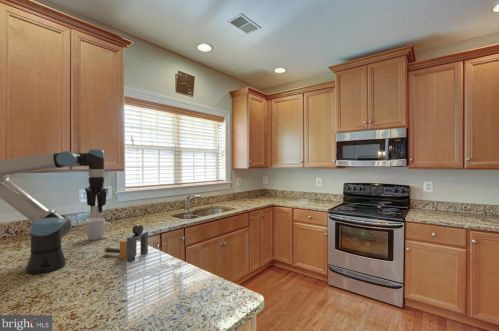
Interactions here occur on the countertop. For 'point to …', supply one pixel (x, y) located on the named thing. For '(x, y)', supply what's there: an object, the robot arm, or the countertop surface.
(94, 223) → the mug
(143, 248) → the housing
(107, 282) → the countertop surface
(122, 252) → the plug
